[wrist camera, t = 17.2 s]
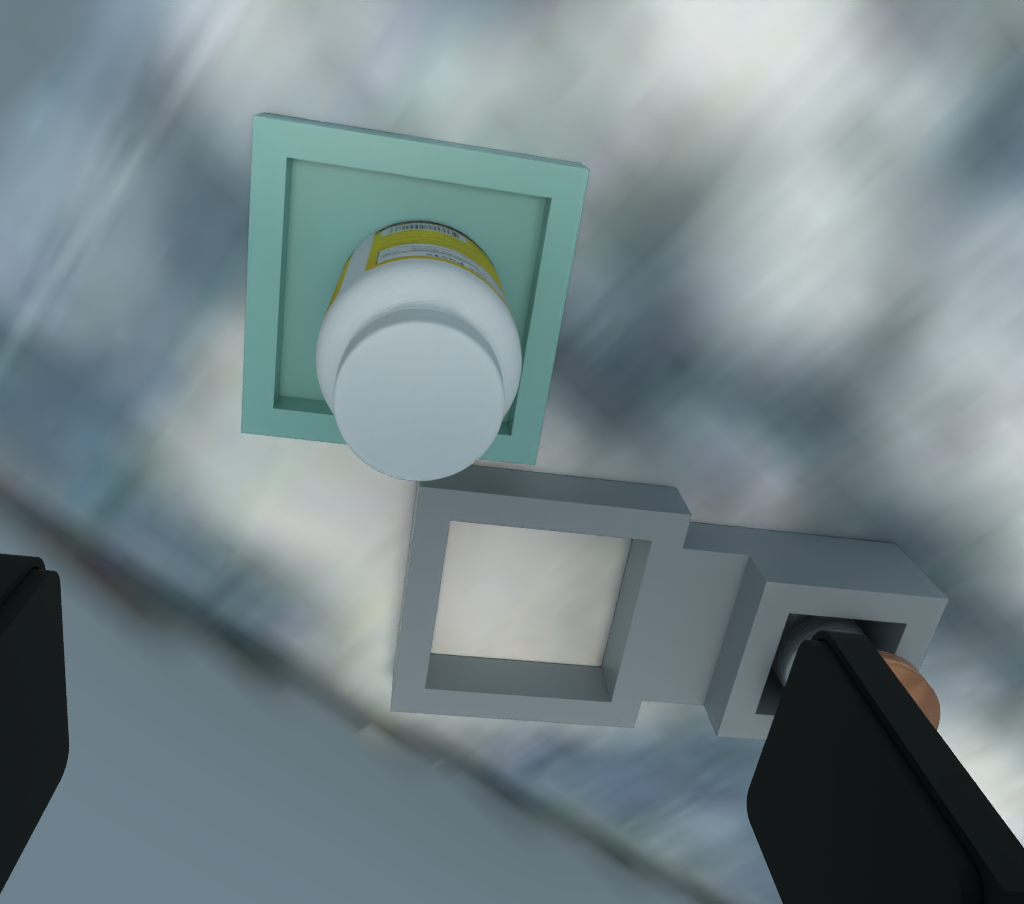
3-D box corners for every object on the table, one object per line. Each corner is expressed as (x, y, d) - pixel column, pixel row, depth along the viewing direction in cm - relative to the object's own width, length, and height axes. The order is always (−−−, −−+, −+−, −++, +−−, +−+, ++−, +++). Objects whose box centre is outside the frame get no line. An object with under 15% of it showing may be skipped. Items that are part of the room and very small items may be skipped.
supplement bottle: (409, 406, 30) (399, 548, 22) (304, 284, 28) (245, 385, 19) (535, 314, 29) (578, 423, 21) (435, 180, 27) (436, 237, 19)
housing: (906, 513, 35) (962, 566, 31) (832, 707, 38) (874, 775, 35) (420, 459, 32) (418, 510, 28) (392, 675, 36) (388, 744, 32)
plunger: (866, 564, 35) (961, 674, 29) (829, 664, 37) (911, 788, 31) (749, 552, 35) (821, 663, 28) (718, 655, 37) (778, 780, 30)
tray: (580, 163, 28) (589, 169, 27) (529, 444, 32) (534, 465, 30) (264, 112, 27) (253, 115, 25) (251, 412, 31) (241, 432, 29)
